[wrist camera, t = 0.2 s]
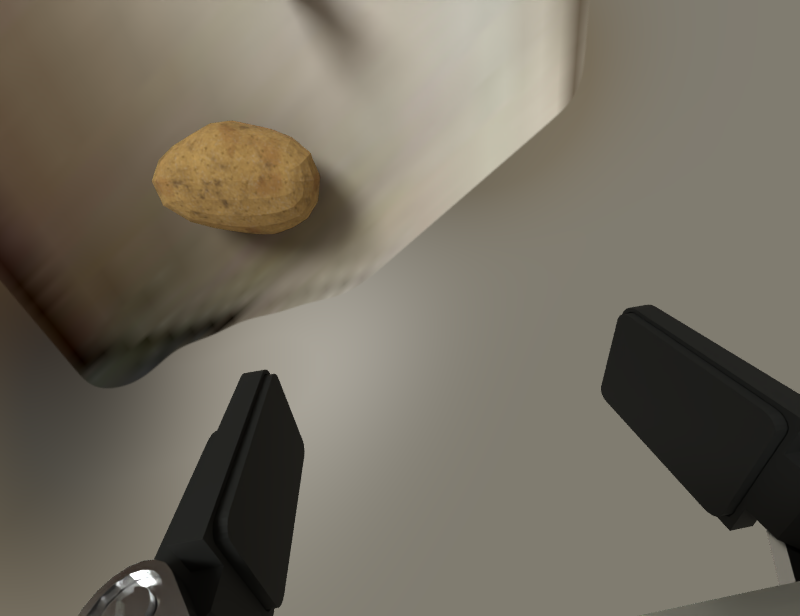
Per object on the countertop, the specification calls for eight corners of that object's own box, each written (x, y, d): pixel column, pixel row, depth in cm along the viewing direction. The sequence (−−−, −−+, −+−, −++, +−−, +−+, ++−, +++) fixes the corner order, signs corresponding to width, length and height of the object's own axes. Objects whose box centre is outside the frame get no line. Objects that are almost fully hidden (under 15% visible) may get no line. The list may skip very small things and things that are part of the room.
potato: (163, 123, 31) (108, 124, 24) (317, 118, 32) (307, 116, 25) (198, 227, 36) (161, 253, 29) (330, 219, 37) (325, 241, 30)
